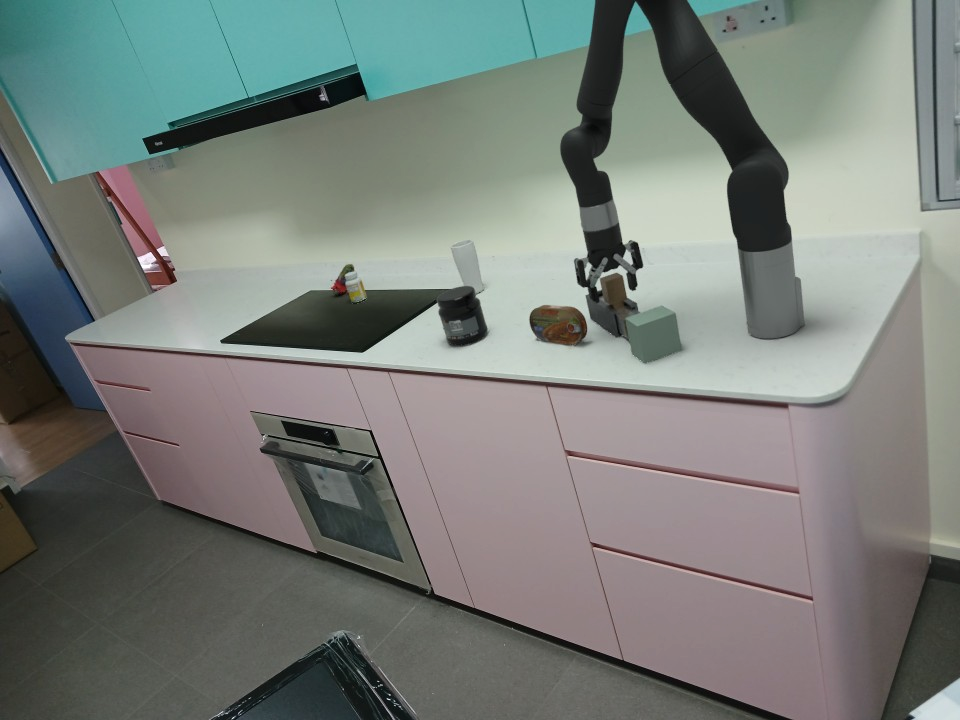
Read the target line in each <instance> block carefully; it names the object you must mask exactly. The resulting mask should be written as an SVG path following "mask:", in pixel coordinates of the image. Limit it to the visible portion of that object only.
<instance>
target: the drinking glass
mask: <svg viewBox="0 0 960 720" xmlns="http://www.w3.org/2000/svg"><path fill="white" fill-rule="evenodd" d="M450 250H451V254H452V257H453V261H454V264H455V266H456V269H457V271H458V274H459V276H460V279H461V282H462V284H463V286H471V287H473V288H474V289H475V293H476V295H477V294H480V293H481V292H483V291H484V289H485V288H484V284H483V279H482V275H481V270H480V264H479V259H478V253H477V249H476V246H475V244H474V240H473V239H462V240H459V241H457V242H455V243H452V244H451V245H450ZM479 292H480V293H479Z"/></svg>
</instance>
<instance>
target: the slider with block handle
mask: <svg viewBox="0 0 960 720" xmlns="http://www.w3.org/2000/svg"><path fill="white" fill-rule="evenodd" d="M599 282H600V286H601V290H602V293H603V296H601V297H599V299H601V300H602V301H604V302H605V303H607V304H608V305H610V306H611V307H613V308H615V309H616V310H617V312H618V313H616V314H614V316H615V320H616V325H617V330H618V332H619V333H620V334H622V335H623V336H622V337H625V338H626V339H627V340H629V336H628V331H627V326H626V321H625V318H627V317H630V316H633V315H636V314H639V313H641V311H639V310H638V311H637V310H636V309H634V308H631V307H629V306H627V305H626V304H624V302H623V301H624V300H627V298H628V295H627V290H626V287H625V279H624V275H623V274H620V273H619V272H613V273H611V274H608V275H605V276H603V277H600V278H599Z"/></svg>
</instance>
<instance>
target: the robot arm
mask: <svg viewBox="0 0 960 720" xmlns="http://www.w3.org/2000/svg"><path fill="white" fill-rule="evenodd" d="M635 4H637V6H638V7H639V8H640V10H641V12H642V14H644V16H645V18H646V20H647V21H648V24H649V25H650V27H651V29H652V32H653V35H654V39H655V42H656V47H657V52H658V57H659V61H660V64H661V65H660V66H661V68H662V73H663V74H664V77H665V79H666V81H667V83H668V85H669V86H670V88H671V90H672V91H673V93H674V95H675V96H676V98H677V99H678V101H679V103H680V104H681V106H682V108H684V110H685V111H686V112H687V113H688V115H690V117H691V118H692V119H694V120H695V122H697V123H698V124H699V126H700V127H702V128H703V129H704V130H705V131H707V133H708V134H709V135H710V136H711V137H712V138H713V139H714V140H715V141H716V142H717V144H718V146H719V147H720V149H721V151H722V153H723V155H724V156H725V158H726V160H727V163H728V165H729V166H730V168H731V172H730V174H729V176H728V179H727V183H726V195H727V196H726V197H727V204H728V211H729V217H730V223H731V229H732V233H733V236H734V237H735V240H736V245H737V252H738V253H737V255H738V261H739V262H738V263H739V269H740V277H741V278H740V279H741V286H742V293H743V294H742V295H743V301H744V309H745V318H746V326H747V333H748V334H749V335H750V336H752V337H754V338H759V339H765V340H766V339H778V338H779V339H780V338H783V337H787V336H790V335H793V334H794V333H796V332H797V331H799V329H800V328H801V327H803V326H805V324H806V323H805V313H804V302H803V292H802V291H803V289H802V281H801V278H800V277H798V276H797V275H796V268H795V258H794V256H795V255H794V249H793V248H794V247H793V237H792V228H791V227H792V226H791V224H789V222H788V217H787V211H786V200H785V199H786V198H785V189H786V187H787V185H788V183H789V179H790V173H789V172H790V171H789V167H788V164H787V162H786V160H785V158H784V157H783V156H782V154H781V153H780V151H778V149H777V148H776V147H775V145H774V144H773V142H772V141H771V140H770V139H769V137H768V136H767V134H766V133H765V132H764V130H763V129H762V128H761V126H760V125H759V123H758V121H756V119H755V117H754V116H753V115H754V114H753V113H752V111H751V110H750V107H749V105H748V104H747V101H746V99H745V97H744V95H743V93H742V91H741V89H740V87H739V86H738V84H737V81H736V80H735V78H734V76H733V74H732V72H731V71H730V69H729V67H728V65H727V64H726V62H725V60H724V59H723V56H722V55H721V53H720V51H719V49H718V47H717V46H716V45H715V43H714V42H713V40H712V39H711V36H710V35H709V34H708V32H707V30H706V29H705V27H704V25H703V23H702V21H701V20H700V18H699V17H698V15H697V13H696V12H695V10H694V9H693V8H692V5H691V4H690V3H689V1H688V0H594V9H593V16H592V23H591V25H592V26H591V32H590V33H591V34H590V40H589V46H588V51H587V56H586V60H585V65H584V69H583V74H582V76H581V81H580V86H579V88H578V93H577V98H576V109H577V111H578V113H580V115H581V122H580V124H579V125H578V126H576V127H573V128H571V129H569V130H568V131H566V132H565V133H564V134H563V136H562V137H561V140H560V145H559V149H560V150H559V151H560V157H561V160H562V163H563V165H564V168H565V169H566V171H567V173H568V176H569V178H570V180H571V182H572V184H573V186H574V188H575V194H576V198H577V202H578V207H579V208H578V209H579V218H580V226H581V228H582V233H583V238H584V243H585V246H586V247H585V249H586V250H587V254H586V256H585V257H582V258H578V257H576V258H574V260H573V264H574V271H575V275H576V284H577V285H579V286H580V287H582V288H583V289H585V288H587V291H588V294H589V297H590V299H591V300H592V301H593V302H595V303H599V302H600V301H599V296H598V292H597V291H598V288H597V286H596V284H597V282H598V280H600V278H601V276H602V273H604V274H605V273H607V272H610V271H611V270H616V269H619V267H621V268H622V269H624V270H625V271H627V272H625V273H626V280H627V285H628V289H629V290H630V291H632V292H634V291H636V290H637V288H638V279H637V271H639V270H640V269H643V267H644V262H643V261H644V260H643V257H642V254H641V249H640V245H639V243H638V241H636V240H632V239H631V240H629V241H628V242H626V243H625V244H624V243H623V236H622V231H621V226H620V221H619V216H618V210H617V206H616V203H615V200H614V196H613V191H612V185H611V181H610V180H611V179H610V177H609V174H608V173H607V172H606V171H604V170H598V168H597V166H596V163H595V159H596V158H598V157H600V156H601V155H602V154H603V153H604V152H605V151H606V149H607V148H608V145H609V143H610V139H611V135H612V126H613V125H612V122H613V108H614V106H615V101H616V98H617V95H618V91H619V87H620V84H621V79H622V76H623V69H624V41H625V36H626V35H625V34H626V29H627V25H628V21H629V19H630V16H631V12H632V10H633V8H634V5H635ZM626 251H627V252H628V253H630V257H631V261H632V264H630V263H629V262H628V261H627V260H625V259H624V256H625V254H626ZM587 264H590V265H591V267H590V269H589V271H588V276H586V268H587V266H588V265H587Z"/></svg>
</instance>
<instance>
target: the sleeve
mask: <svg viewBox="0 0 960 720" xmlns="http://www.w3.org/2000/svg"><path fill="white" fill-rule="evenodd" d="M597 292H598V296H599V297H601V296H603V293H602V289H600V290H597ZM585 299H586V303H587V304H586V305H587V308H588V315H589V319H590V320H591V321H593V323H595V322H596V323H595V324H597V325H598V326H599V325H600V328H603V330H605V331H607V332H608V334H610V333H611V334H610V335H612V336H613V337H614V336H615V337H614V338H620V337H623V336H622V334H620V333H619V332H618V330H617V325H616V320H615V316H614V314H616V313H618V312H617V310H616V309H615V308H613V307H611V306H610V305H608V304H607V303H605V302H604V301H602V300H601V299H599V301H600V302H599V303H595V302H593V301H592V300H591V299H590V297H589V293H588V294H585ZM623 302H624V304H626V305H627V306H629V307H631V308H634V309H636V310H637V311H639V306H638V303H637V302H636V301H634V300H632V299H630V298H629V297H627V300H624V301H623Z"/></svg>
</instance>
